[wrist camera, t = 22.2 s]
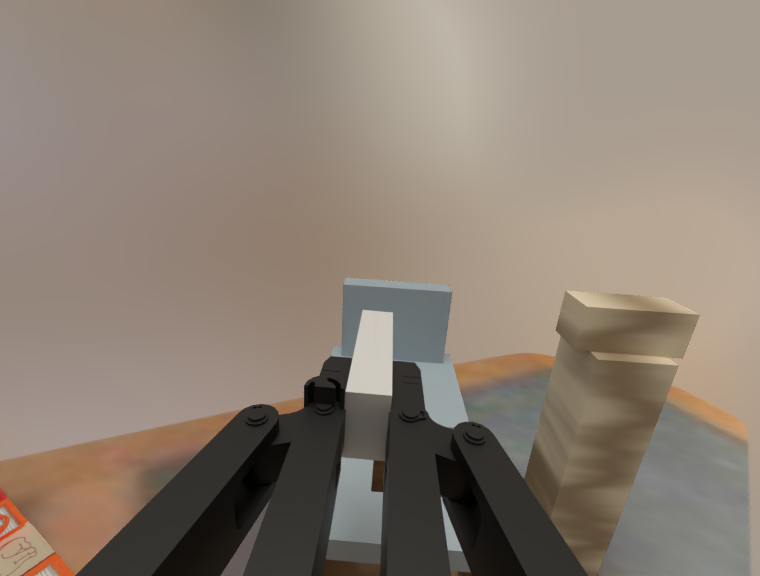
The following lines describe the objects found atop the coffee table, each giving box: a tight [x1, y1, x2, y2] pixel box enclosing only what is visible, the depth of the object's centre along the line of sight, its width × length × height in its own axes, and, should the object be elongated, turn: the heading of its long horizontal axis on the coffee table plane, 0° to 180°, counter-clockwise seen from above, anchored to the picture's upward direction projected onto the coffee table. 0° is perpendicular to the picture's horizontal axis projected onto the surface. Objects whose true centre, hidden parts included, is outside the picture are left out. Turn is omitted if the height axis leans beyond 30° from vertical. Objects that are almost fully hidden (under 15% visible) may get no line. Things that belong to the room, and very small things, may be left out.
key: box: [524, 291, 699, 576], centre depth 22 cm, size 6×4×20 cm
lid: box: [326, 278, 471, 573], centre depth 26 cm, size 12×20×9 cm, turn 177°
